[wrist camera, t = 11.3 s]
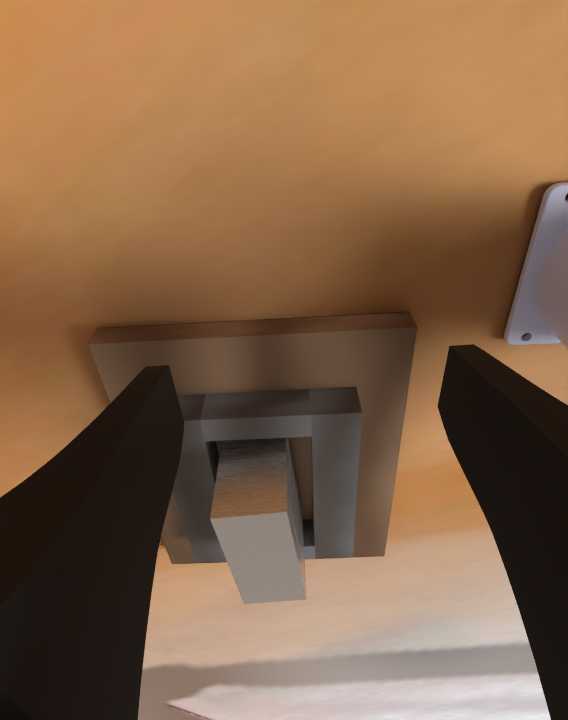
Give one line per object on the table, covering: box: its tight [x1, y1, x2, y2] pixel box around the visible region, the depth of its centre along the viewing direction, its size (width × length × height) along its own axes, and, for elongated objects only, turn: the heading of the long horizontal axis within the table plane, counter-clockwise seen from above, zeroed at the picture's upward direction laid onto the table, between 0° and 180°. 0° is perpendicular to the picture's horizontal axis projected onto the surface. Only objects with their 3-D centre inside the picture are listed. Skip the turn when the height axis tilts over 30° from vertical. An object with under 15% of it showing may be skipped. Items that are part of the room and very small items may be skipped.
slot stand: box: [88, 312, 417, 564], centre depth 27 cm, size 16×20×4 cm
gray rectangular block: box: [210, 438, 306, 604], centre depth 24 cm, size 4×8×6 cm, turn 8°
